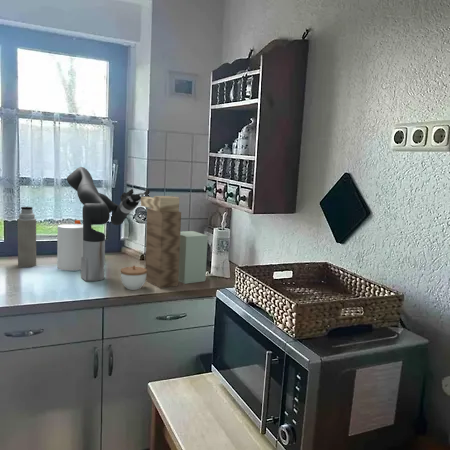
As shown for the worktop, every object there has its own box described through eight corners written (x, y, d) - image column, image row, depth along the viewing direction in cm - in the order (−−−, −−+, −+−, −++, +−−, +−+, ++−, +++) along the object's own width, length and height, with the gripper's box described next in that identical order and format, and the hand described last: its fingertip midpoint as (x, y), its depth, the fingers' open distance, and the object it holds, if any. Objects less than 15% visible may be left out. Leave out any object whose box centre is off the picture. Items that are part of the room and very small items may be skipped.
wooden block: (178, 211, 191) (179, 197, 190) (159, 211, 186) (160, 197, 185) (153, 205, 210) (154, 192, 209) (135, 205, 205) (136, 192, 204)
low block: (184, 283, 197) (186, 236, 194) (170, 276, 208) (172, 232, 205) (205, 281, 204) (207, 235, 201) (190, 274, 214) (192, 230, 211)
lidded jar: (114, 287, 186) (115, 265, 185) (135, 282, 195) (135, 261, 193) (131, 293, 180) (131, 270, 178) (151, 288, 188) (152, 266, 187)
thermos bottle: (29, 262, 219) (29, 205, 216) (39, 265, 215) (39, 207, 211) (14, 265, 213) (13, 206, 209) (24, 268, 209) (24, 208, 205)
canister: (86, 270, 211) (86, 228, 208) (55, 270, 207) (55, 227, 205) (87, 263, 224) (88, 224, 221) (59, 263, 220) (59, 223, 218)
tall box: (159, 288, 189) (162, 212, 184) (144, 279, 200) (147, 208, 195) (178, 285, 194) (181, 212, 189) (163, 277, 205) (165, 208, 201)
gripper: (114, 197, 232) (125, 183, 220) (140, 197, 241) (152, 184, 228) (117, 210, 230) (128, 197, 218) (142, 210, 238) (155, 197, 226)
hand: (140, 190), depth 223 cm, fingers open, 8 cm apart
